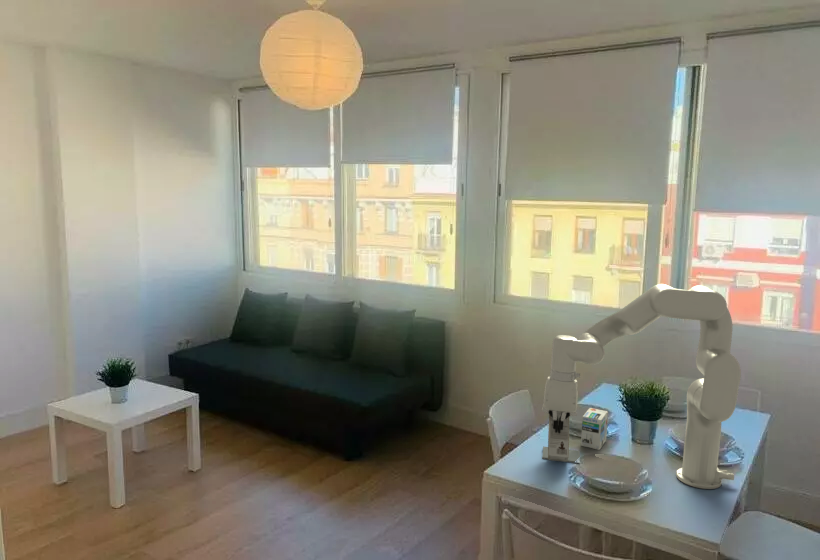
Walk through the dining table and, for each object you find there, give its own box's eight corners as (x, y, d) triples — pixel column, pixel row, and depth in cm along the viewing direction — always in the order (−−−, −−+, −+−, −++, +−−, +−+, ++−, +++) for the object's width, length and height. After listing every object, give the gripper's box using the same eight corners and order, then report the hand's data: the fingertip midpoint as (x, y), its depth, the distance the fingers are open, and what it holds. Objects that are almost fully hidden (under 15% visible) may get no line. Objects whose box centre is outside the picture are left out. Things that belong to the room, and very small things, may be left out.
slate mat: (579, 452, 204) (579, 450, 204) (580, 463, 196) (580, 462, 196) (543, 448, 207) (543, 446, 207) (542, 459, 199) (542, 457, 199)
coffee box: (547, 460, 198) (548, 411, 205) (567, 462, 196) (568, 413, 203) (548, 455, 190) (549, 404, 196) (569, 457, 188) (570, 406, 195)
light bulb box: (599, 450, 207) (602, 420, 205) (580, 446, 210) (581, 416, 208) (606, 439, 216) (608, 410, 214) (587, 435, 219) (589, 407, 218)
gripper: (586, 374, 191) (581, 430, 193) (538, 369, 194) (533, 424, 197) (588, 381, 183) (582, 439, 186) (537, 375, 187) (533, 432, 189)
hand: (557, 431), depth 191 cm, fingers closed
